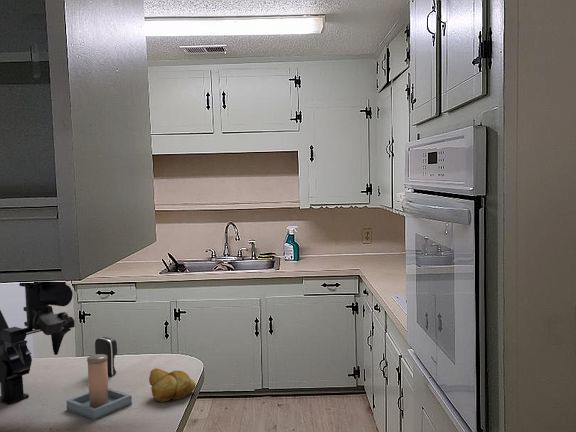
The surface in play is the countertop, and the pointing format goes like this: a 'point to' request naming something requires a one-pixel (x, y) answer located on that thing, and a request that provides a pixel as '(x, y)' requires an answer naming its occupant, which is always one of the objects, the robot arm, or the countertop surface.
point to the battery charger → (107, 352)
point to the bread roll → (170, 384)
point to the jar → (98, 380)
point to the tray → (115, 403)
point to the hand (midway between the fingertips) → (40, 359)
